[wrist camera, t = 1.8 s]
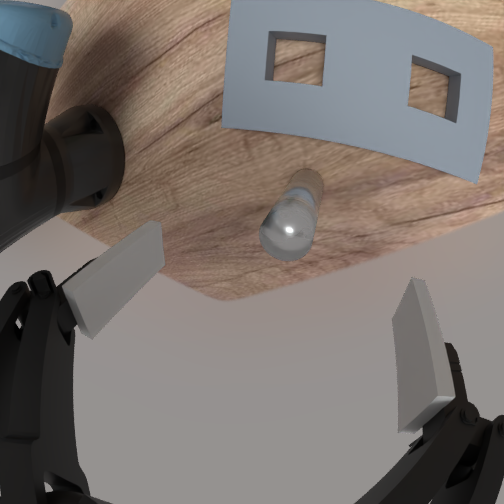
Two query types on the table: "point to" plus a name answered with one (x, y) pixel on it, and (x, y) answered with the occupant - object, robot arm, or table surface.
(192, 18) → the table surface
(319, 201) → the pin
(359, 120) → the socket board
